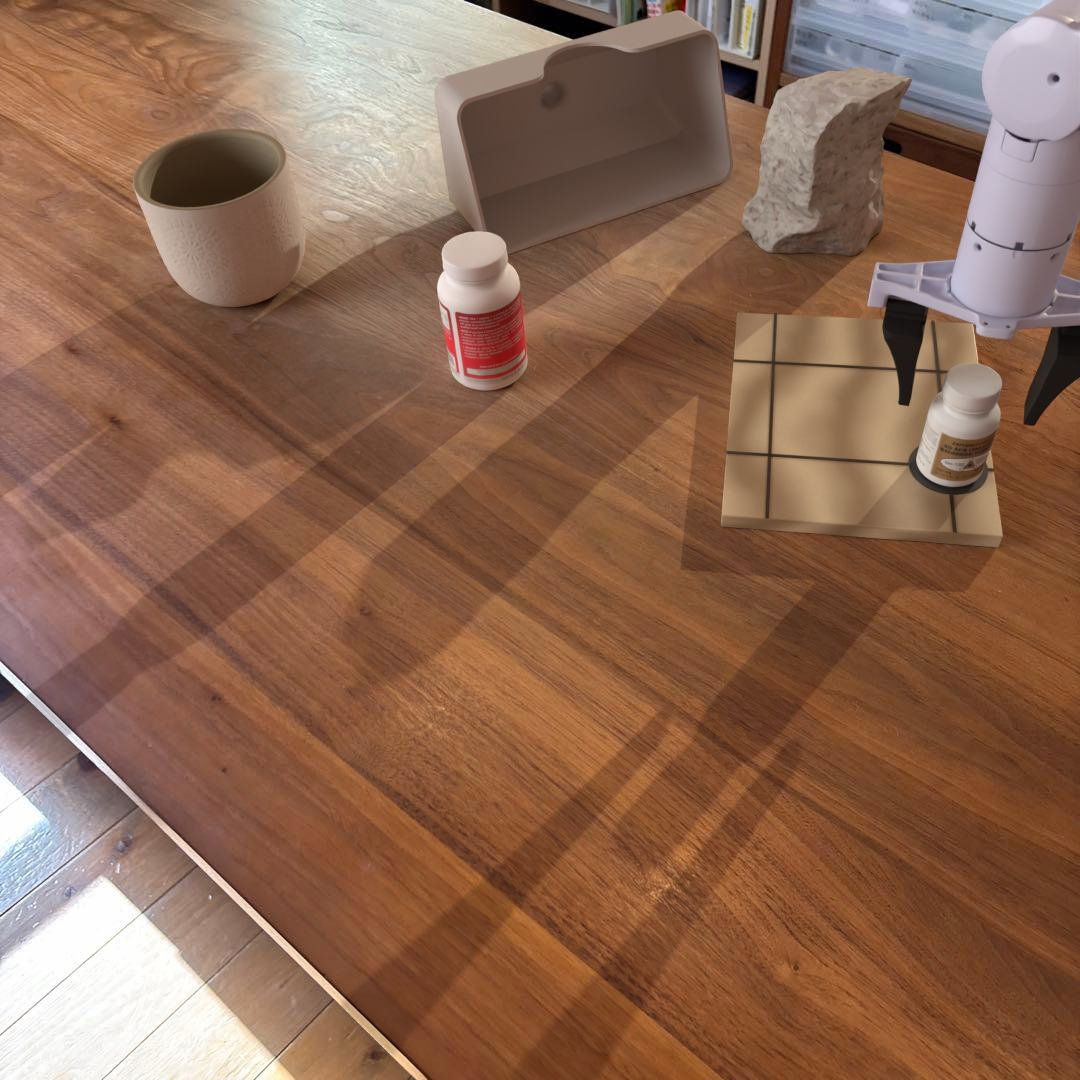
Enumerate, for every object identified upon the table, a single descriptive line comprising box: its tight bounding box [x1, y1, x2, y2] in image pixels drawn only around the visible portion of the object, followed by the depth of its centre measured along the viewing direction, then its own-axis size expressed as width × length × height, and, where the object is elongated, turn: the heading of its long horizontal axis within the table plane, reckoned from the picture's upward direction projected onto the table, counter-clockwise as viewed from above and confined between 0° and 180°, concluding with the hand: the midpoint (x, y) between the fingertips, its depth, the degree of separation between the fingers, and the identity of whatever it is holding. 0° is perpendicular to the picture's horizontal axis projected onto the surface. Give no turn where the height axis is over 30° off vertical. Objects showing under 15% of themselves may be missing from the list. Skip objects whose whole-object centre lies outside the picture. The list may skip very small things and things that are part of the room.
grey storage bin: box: [433, 10, 734, 255], centre depth 101 cm, size 25×16×12 cm, turn 115°
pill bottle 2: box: [916, 362, 1003, 487], centre depth 73 cm, size 4×4×8 cm
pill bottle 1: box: [436, 231, 528, 392], centre depth 84 cm, size 6×6×11 cm
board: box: [720, 312, 1004, 549], centre depth 80 cm, size 18×22×1 cm
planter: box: [132, 128, 306, 308], centre depth 94 cm, size 12×12×11 cm
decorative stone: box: [741, 66, 913, 257], centre depth 91 cm, size 10×9×15 cm
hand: (966, 405), depth 72 cm, fingers open, 7 cm apart
